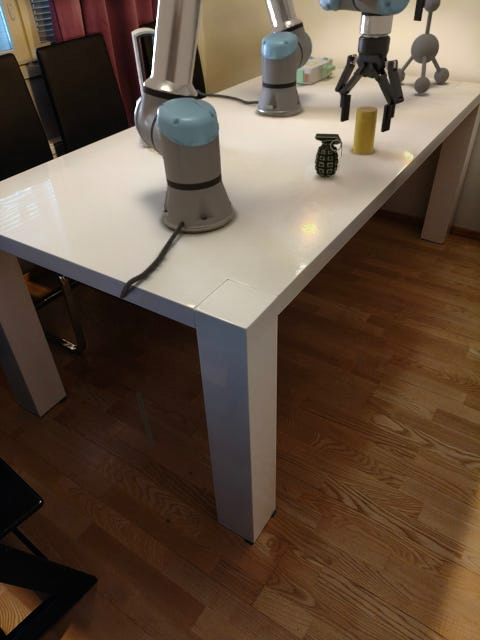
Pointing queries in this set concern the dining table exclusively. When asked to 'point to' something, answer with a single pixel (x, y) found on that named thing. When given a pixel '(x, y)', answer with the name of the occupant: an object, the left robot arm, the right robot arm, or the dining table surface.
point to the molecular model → (426, 53)
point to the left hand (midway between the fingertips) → (364, 125)
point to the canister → (365, 130)
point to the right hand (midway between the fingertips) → (400, 23)
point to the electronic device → (135, 36)
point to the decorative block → (314, 70)
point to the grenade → (327, 155)
